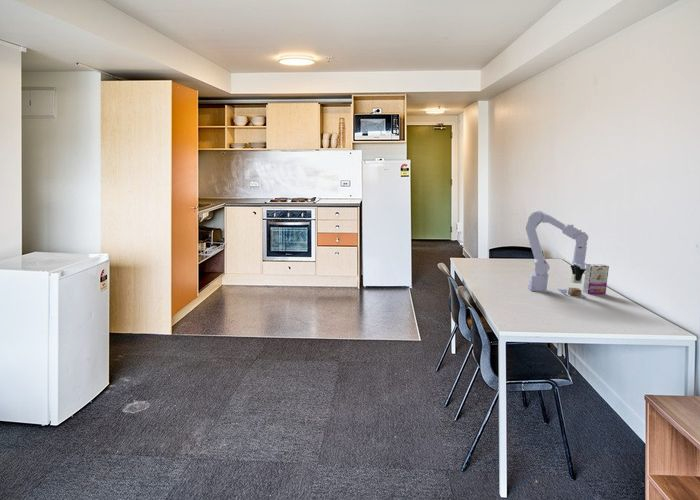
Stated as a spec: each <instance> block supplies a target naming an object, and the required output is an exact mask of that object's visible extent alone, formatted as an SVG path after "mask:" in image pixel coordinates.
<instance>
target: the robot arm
mask: <svg viewBox="0 0 700 500" xmlns="http://www.w3.org/2000/svg"><path fill="white" fill-rule="evenodd" d="M541 223H546V224H547V223H549V224H550V225H552V226H554V227H555V228H558V229H560V230H561V232H562V234H563V235H565V236H567V237H569V238H571V239H572V240H574V241H575V246H574V250H573V251H574V252H573V257H572V258H573V260H572V264H571V265H570V269H571V272H572V274H575V279H576V281H580V280H581V277H582V278H583V275H584V274H585V271H586V265H587V264H588V263H586V256H587V250H588V249H587V248H588V247H587V245H588V240H589V235H588V234H587V233H586V232H585V231H582V230H583V229H578V228H576V227H574V226H575V225H574V224H570V223H568V224H565V223H563V222H561V221H560V220H558V219H556V218H555V217H553V215H550V214H548V213H546V212H544V211H541V210H536V211H533V212H532V213H531V214H530V215H529V216H528V219H527V223H526V226H525V231H526V234H527V237H528V241H529V245H530V248H531V252H532V255H533V259H534V271H535V272H534V273H531V274H530V275H529V276H528V277H529V279H528V285H527V286H528V287H527V289H529V290H530V292H543V293H544V292H545V293H549V292H550V291H549V290H548V289H547V288H548V281H549V273H548V271H549V270H550V264H549V263H548V262H547V261H546V258H545V257H544V254H543V249H542V247H541V243H540V240H539V235H538V232H537V230H536V229H537V228H538V226H540V225H539V224H541ZM572 274H571V275H572Z"/></svg>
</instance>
